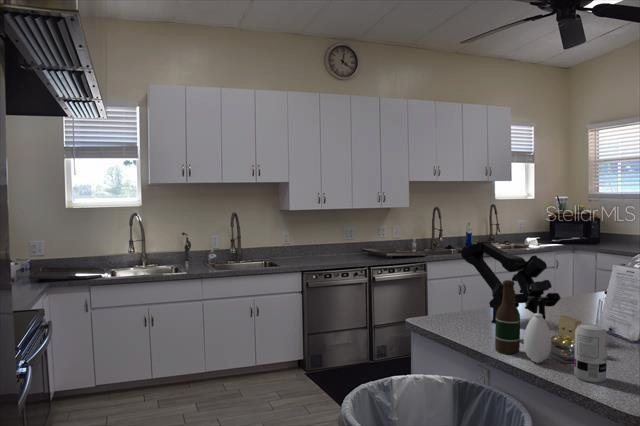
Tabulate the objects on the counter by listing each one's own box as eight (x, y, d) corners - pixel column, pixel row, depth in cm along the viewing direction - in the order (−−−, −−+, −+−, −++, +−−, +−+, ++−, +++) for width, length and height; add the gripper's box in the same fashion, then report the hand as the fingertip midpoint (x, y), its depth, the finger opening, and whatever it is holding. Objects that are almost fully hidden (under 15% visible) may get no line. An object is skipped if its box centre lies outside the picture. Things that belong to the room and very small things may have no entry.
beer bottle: (519, 349, 174) (520, 279, 173) (520, 356, 167) (521, 283, 166) (495, 346, 177) (496, 278, 176) (495, 353, 169) (496, 282, 168)
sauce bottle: (518, 360, 162) (519, 304, 162) (534, 356, 166) (535, 302, 166) (539, 367, 156) (540, 309, 155) (555, 363, 160) (557, 306, 159)
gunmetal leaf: (550, 353, 168) (551, 343, 168) (574, 352, 170) (575, 341, 170) (565, 360, 161) (565, 349, 161) (590, 359, 163) (590, 348, 163)
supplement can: (568, 373, 151) (569, 323, 150) (594, 373, 152) (596, 323, 151) (584, 383, 143) (586, 330, 142) (612, 383, 143) (614, 330, 143)
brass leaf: (550, 344, 177) (550, 316, 177) (564, 343, 178) (565, 315, 178) (565, 351, 170) (566, 321, 169) (580, 350, 171) (581, 321, 170)
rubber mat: (516, 340, 185) (516, 339, 184) (553, 338, 187) (553, 337, 187) (564, 364, 159) (564, 363, 159) (605, 361, 162) (605, 360, 162)
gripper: (514, 272, 190) (531, 308, 180) (558, 271, 194) (577, 307, 184) (502, 289, 198) (517, 325, 188) (544, 288, 202) (562, 323, 192)
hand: (544, 319), depth 188 cm, fingers closed
